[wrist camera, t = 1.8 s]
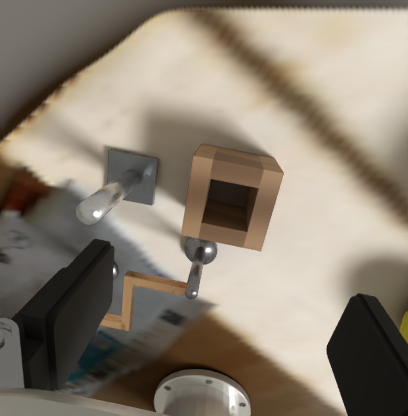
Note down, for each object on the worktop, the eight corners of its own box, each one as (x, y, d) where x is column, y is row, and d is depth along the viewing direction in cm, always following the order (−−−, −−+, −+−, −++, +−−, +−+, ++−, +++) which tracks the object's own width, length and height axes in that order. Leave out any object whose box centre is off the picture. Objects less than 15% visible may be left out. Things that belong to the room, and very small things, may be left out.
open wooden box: (256, 223, 26) (260, 251, 22) (190, 210, 26) (181, 234, 22) (274, 158, 24) (283, 173, 19) (201, 144, 24) (193, 155, 19)
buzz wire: (222, 255, 28) (218, 303, 21) (109, 296, 32) (76, 347, 25) (200, 213, 26) (188, 251, 20) (84, 261, 30) (42, 306, 24)
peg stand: (153, 203, 26) (119, 249, 19) (109, 194, 27) (56, 236, 19) (158, 158, 25) (122, 188, 17) (111, 149, 25) (53, 174, 17)
